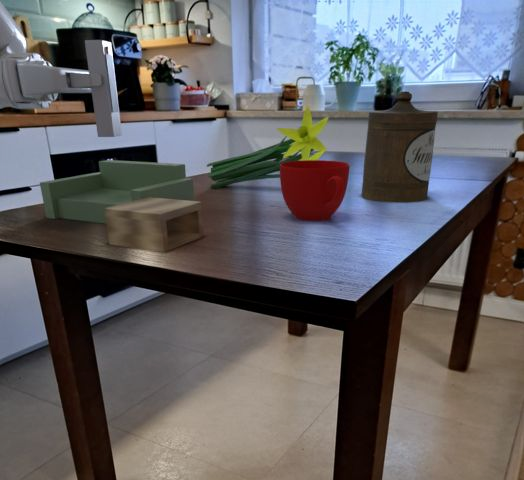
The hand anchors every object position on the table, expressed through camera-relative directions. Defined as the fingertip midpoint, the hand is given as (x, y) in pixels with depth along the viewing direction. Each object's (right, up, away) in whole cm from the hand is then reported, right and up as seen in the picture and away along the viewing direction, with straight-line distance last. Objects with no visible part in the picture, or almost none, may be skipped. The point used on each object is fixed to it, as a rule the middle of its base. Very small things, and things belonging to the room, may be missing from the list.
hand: (107, 80), depth 91 cm
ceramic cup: (+38, -23, +8) cm, 45 cm away
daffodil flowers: (+28, -8, +39) cm, 48 cm away
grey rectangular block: (-1, -8, +4) cm, 9 cm away
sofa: (-1, -21, +13) cm, 24 cm away
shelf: (+10, -29, -5) cm, 31 cm away
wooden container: (+58, -12, +29) cm, 66 cm away
